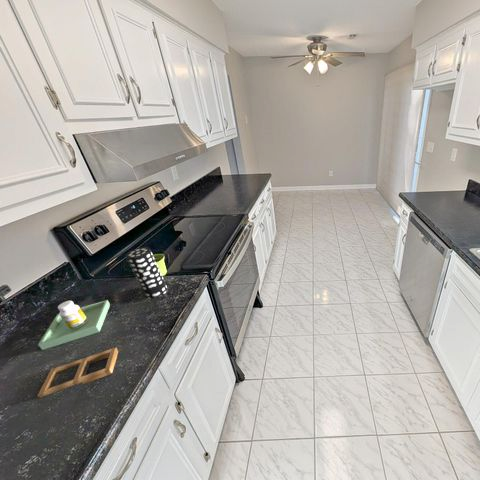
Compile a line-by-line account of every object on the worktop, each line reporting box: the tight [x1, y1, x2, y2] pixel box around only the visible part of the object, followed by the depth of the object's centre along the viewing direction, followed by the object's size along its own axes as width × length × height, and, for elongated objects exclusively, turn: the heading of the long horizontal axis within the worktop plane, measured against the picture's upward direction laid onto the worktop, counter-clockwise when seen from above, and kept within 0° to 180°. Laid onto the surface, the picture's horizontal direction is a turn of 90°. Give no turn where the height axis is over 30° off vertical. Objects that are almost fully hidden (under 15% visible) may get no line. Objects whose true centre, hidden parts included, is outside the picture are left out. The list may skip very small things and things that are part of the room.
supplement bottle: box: [57, 300, 88, 329], centre depth 92 cm, size 5×5×10 cm
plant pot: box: [153, 253, 168, 277], centre depth 119 cm, size 9×9×9 cm
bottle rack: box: [37, 347, 119, 399], centre depth 75 cm, size 16×9×2 cm, turn 115°
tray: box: [37, 299, 111, 351], centre depth 94 cm, size 16×16×3 cm
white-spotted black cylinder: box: [125, 246, 169, 300], centre depth 104 cm, size 8×8×20 cm
